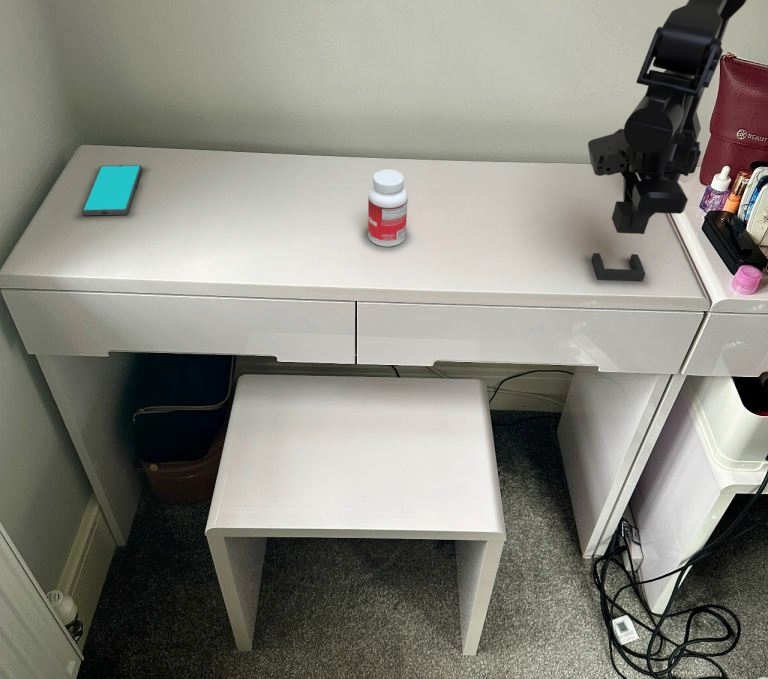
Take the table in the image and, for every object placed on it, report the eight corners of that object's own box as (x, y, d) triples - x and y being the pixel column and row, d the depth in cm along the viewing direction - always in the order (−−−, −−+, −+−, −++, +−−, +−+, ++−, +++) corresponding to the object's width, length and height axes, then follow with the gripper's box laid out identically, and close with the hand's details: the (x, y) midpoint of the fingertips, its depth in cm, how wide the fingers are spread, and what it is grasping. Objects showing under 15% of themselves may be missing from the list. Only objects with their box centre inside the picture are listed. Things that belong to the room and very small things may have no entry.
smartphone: (81, 211, 116) (100, 165, 127) (82, 215, 117) (101, 169, 128) (127, 210, 117) (142, 164, 128) (128, 214, 117) (143, 169, 128)
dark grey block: (611, 218, 107) (616, 201, 105) (637, 219, 107) (643, 201, 105) (617, 233, 104) (622, 215, 102) (644, 234, 104) (650, 216, 102)
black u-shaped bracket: (591, 260, 112) (593, 252, 111) (635, 261, 112) (637, 254, 111) (597, 279, 108) (599, 272, 107) (642, 281, 108) (645, 273, 107)
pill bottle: (366, 226, 117) (367, 167, 109) (403, 225, 117) (406, 166, 110) (369, 248, 112) (370, 188, 105) (407, 247, 113) (411, 187, 105)
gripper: (587, 89, 101) (565, 185, 111) (615, 153, 87) (587, 256, 98) (665, 92, 101) (636, 188, 111) (706, 157, 87) (667, 259, 98)
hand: (630, 220), depth 104 cm, fingers closed on dark grey block, 4 cm apart
